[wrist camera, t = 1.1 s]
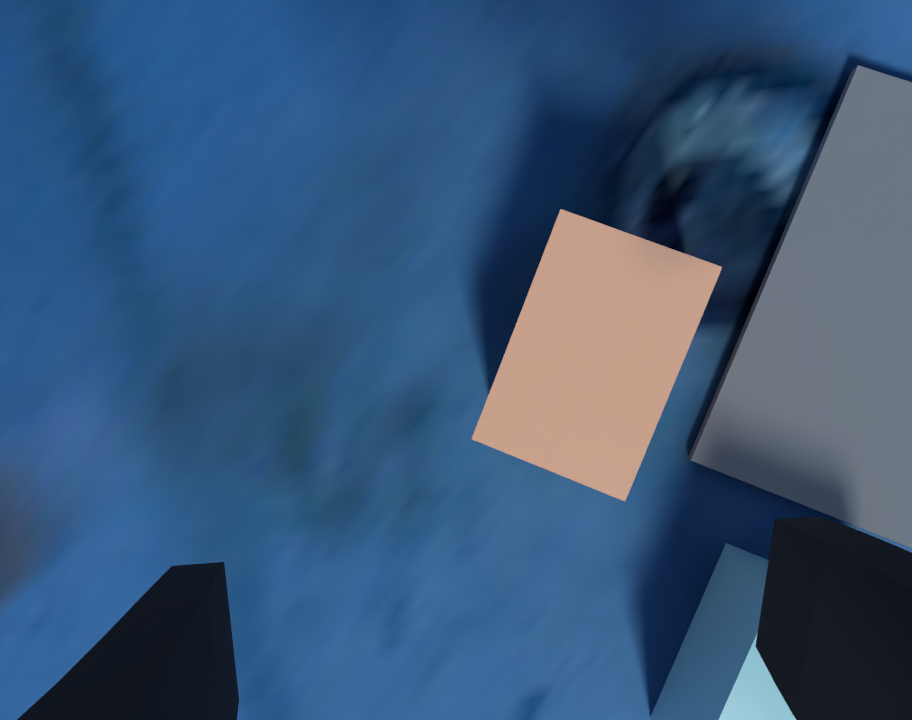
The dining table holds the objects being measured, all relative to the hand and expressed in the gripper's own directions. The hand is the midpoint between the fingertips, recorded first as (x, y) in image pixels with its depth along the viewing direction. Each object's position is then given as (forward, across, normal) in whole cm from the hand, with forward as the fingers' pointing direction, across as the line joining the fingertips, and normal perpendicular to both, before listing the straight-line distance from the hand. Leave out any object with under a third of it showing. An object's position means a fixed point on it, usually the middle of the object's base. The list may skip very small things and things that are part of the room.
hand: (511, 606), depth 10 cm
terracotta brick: (+13, -5, +1) cm, 14 cm away
